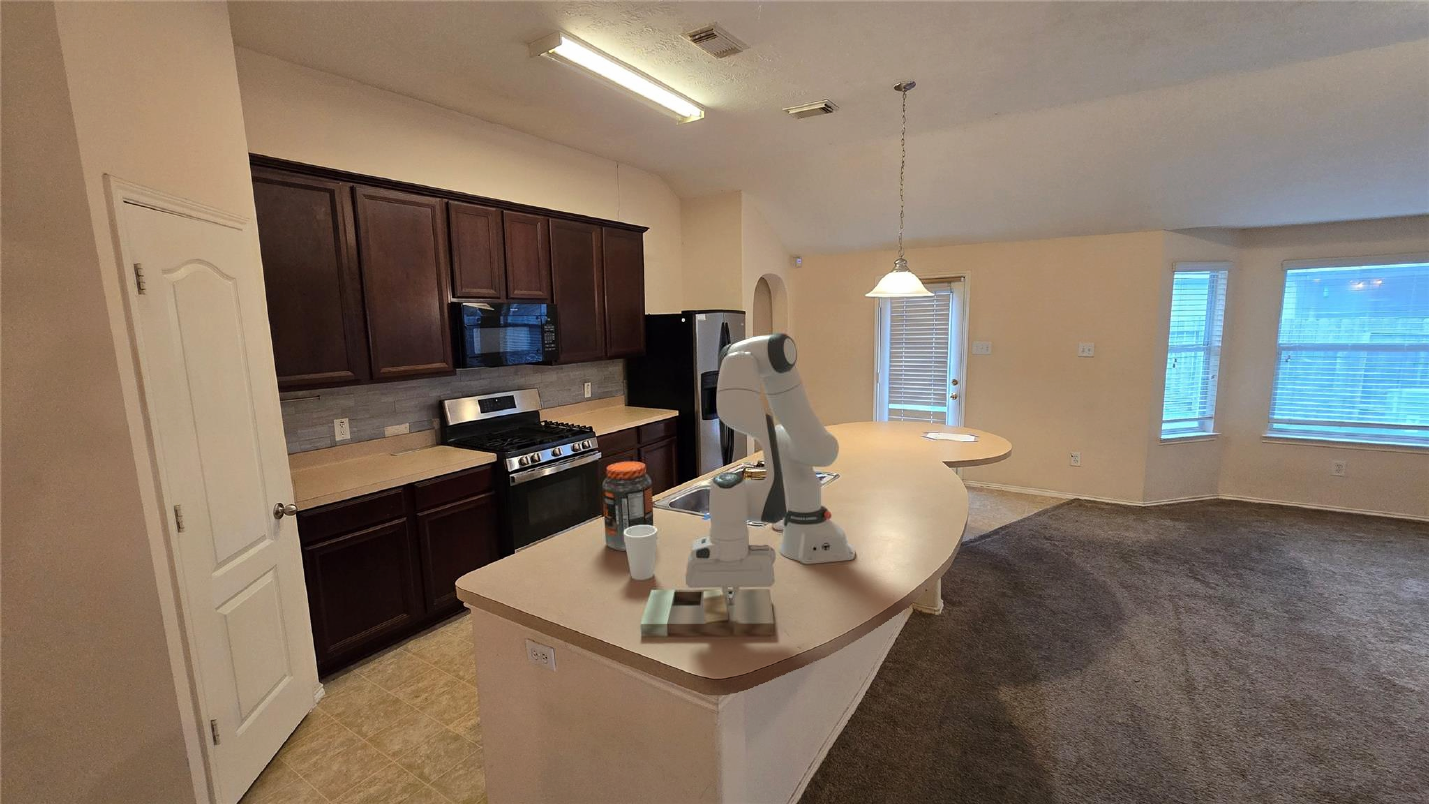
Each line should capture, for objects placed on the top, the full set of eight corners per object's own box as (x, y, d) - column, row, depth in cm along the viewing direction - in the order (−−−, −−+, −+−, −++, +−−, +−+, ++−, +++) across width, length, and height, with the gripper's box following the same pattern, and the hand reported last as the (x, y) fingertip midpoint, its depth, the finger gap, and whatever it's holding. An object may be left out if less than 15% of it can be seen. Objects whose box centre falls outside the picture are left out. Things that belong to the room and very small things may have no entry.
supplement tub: (608, 535, 185) (604, 461, 181) (655, 533, 186) (651, 458, 182) (602, 554, 169) (597, 473, 166) (653, 551, 170) (649, 471, 167)
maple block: (728, 608, 128) (725, 588, 127) (728, 620, 123) (725, 599, 122) (706, 611, 128) (703, 591, 127) (706, 622, 123) (703, 602, 122)
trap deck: (769, 600, 138) (769, 589, 138) (774, 635, 122) (773, 623, 122) (651, 601, 139) (651, 590, 139) (641, 636, 123) (640, 624, 123)
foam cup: (665, 571, 156) (663, 528, 154) (645, 585, 148) (643, 539, 146) (639, 565, 161) (637, 522, 159) (618, 578, 153) (616, 533, 151)
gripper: (774, 539, 126) (774, 596, 128) (686, 541, 127) (687, 597, 128) (776, 550, 120) (777, 609, 122) (684, 551, 120) (685, 610, 122)
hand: (730, 603), depth 125 cm, fingers closed
